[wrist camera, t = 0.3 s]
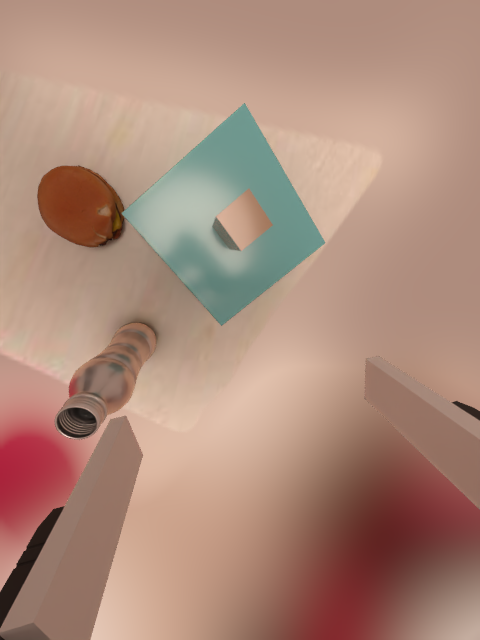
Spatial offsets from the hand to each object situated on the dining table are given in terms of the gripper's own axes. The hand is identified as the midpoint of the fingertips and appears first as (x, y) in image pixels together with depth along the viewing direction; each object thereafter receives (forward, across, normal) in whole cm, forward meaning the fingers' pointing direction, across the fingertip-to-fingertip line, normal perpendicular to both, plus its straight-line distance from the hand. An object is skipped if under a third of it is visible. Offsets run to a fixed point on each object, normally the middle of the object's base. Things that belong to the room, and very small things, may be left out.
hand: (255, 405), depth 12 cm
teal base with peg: (+28, +2, +10) cm, 29 cm away
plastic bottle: (+28, -15, -4) cm, 32 cm away
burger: (+29, -16, +16) cm, 36 cm away
